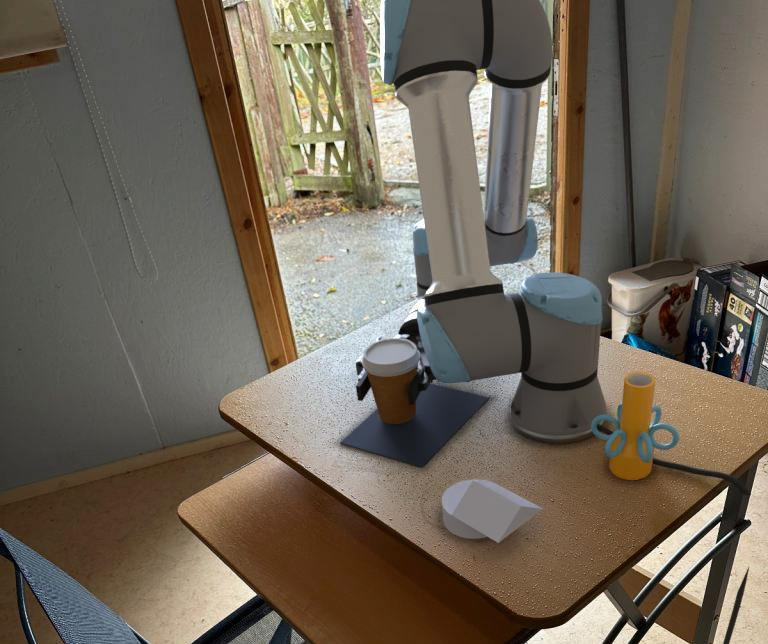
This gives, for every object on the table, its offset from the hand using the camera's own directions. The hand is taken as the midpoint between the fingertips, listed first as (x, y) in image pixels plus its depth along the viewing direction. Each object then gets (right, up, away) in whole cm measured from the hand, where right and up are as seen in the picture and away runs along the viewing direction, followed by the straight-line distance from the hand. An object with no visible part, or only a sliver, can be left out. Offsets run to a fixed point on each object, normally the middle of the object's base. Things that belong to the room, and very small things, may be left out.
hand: (384, 395), depth 124 cm
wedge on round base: (+14, -20, -15) cm, 29 cm away
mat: (+5, -3, +7) cm, 9 cm away
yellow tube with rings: (+36, -12, -10) cm, 39 cm away
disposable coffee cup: (+2, -2, +8) cm, 8 cm away
